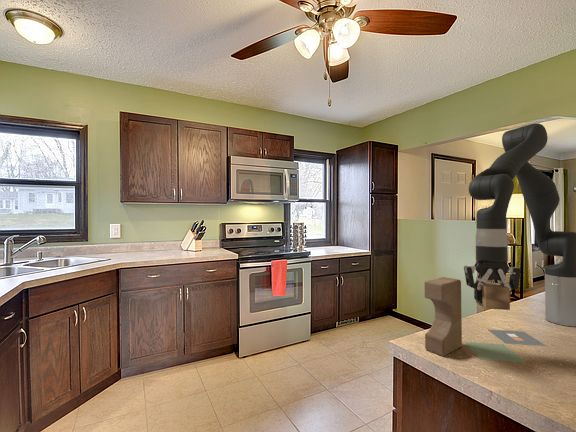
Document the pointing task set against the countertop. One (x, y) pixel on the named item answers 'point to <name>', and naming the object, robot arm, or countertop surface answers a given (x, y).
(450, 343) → the decorative block
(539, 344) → the tile
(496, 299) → the walnut block
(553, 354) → the countertop surface
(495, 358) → the mat
